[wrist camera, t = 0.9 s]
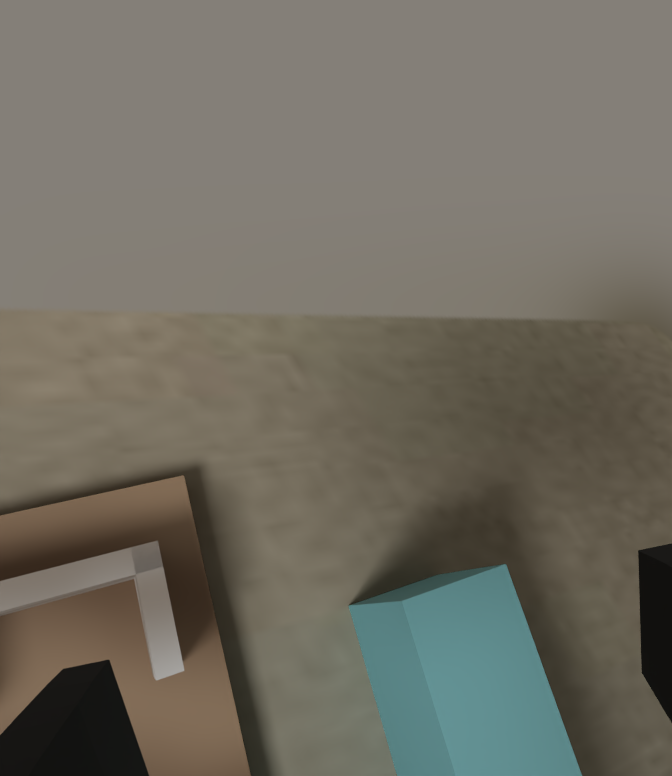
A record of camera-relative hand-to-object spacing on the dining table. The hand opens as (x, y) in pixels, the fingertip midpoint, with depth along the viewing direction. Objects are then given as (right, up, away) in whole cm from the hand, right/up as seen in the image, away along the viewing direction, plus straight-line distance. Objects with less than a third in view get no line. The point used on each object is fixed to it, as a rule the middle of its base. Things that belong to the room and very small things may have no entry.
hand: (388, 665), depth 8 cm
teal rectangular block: (+3, -10, +14) cm, 17 cm away
